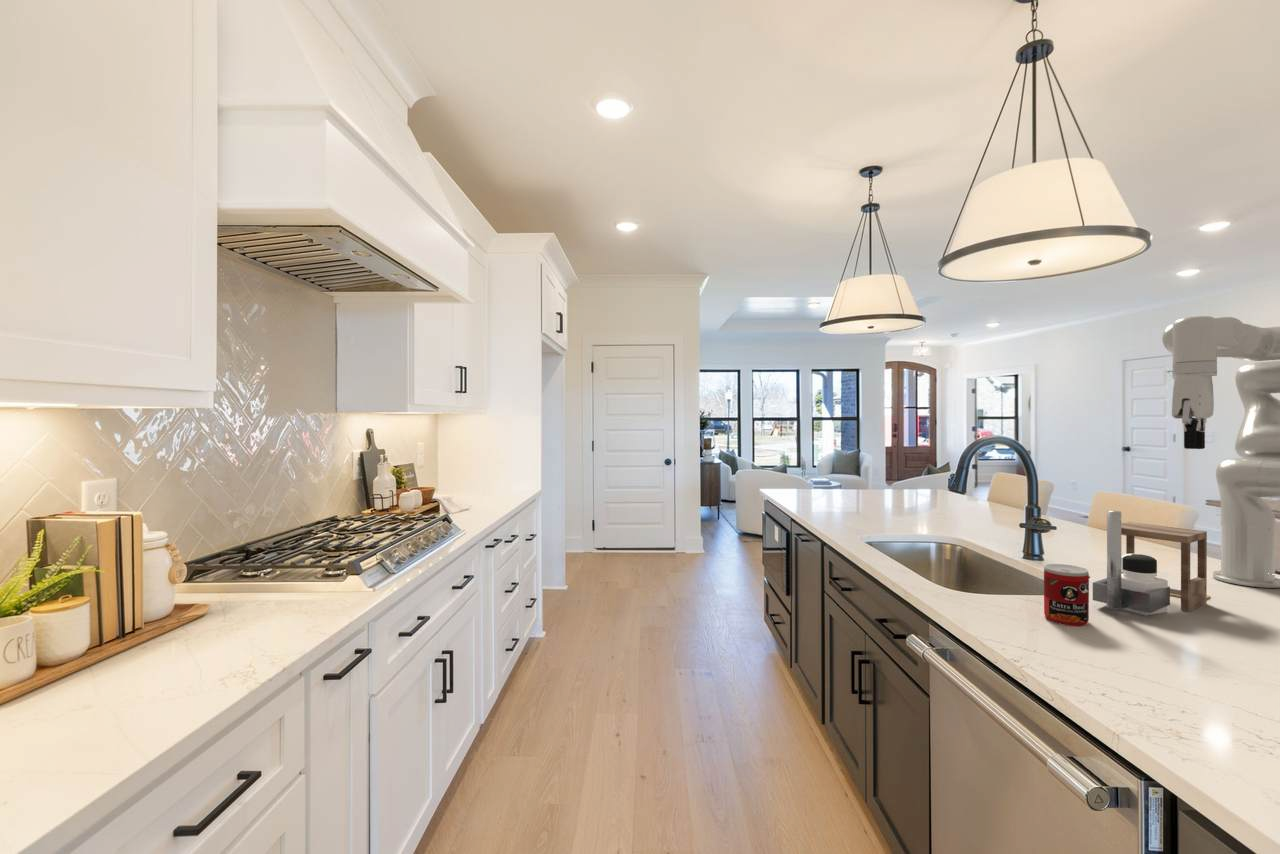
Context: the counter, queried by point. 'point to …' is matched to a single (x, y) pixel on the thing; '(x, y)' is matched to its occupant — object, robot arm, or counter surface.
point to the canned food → (1066, 594)
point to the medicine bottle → (1141, 577)
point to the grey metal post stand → (1111, 586)
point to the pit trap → (1178, 593)
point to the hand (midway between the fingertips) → (1194, 448)
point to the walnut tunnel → (1190, 589)
